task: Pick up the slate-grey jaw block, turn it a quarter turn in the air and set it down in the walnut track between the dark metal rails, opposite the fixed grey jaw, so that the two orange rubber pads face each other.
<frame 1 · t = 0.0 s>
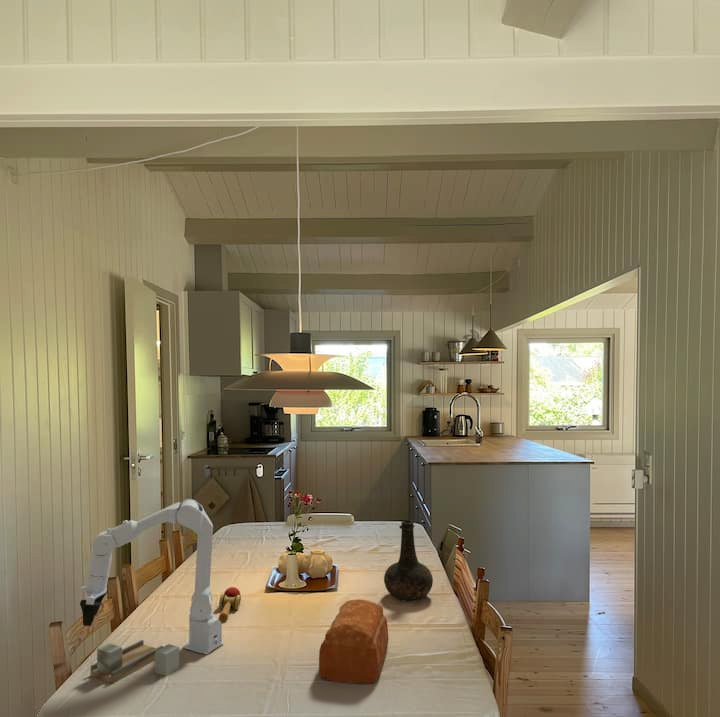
hand: (89, 620, 182), 11 cm above the table, tool pointing down, fingers open, 7 cm apart
kendama: (229, 611, 215), on the table
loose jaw: (167, 670, 173), on the table
bread: (355, 663, 179), on the table
glass bottle: (408, 597, 228), on the table
jaw track: (128, 665, 176), on the table
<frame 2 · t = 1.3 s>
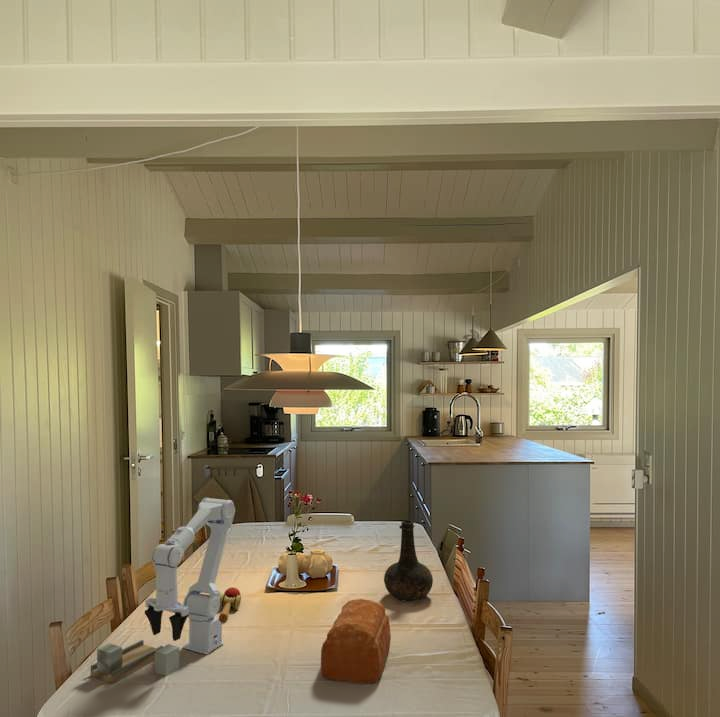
hand: (166, 636, 173), 9 cm above the table, tool pointing down, fingers open, 7 cm apart
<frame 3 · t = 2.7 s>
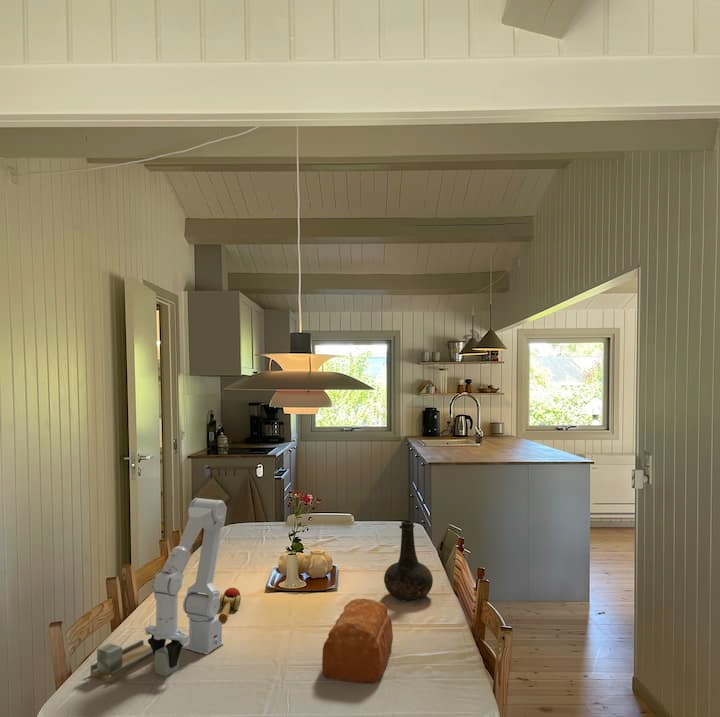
hand: (166, 664, 173), 2 cm above the table, tool pointing down, fingers closed on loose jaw, 4 cm apart
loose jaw: (167, 670, 173), on the table, touching gripper
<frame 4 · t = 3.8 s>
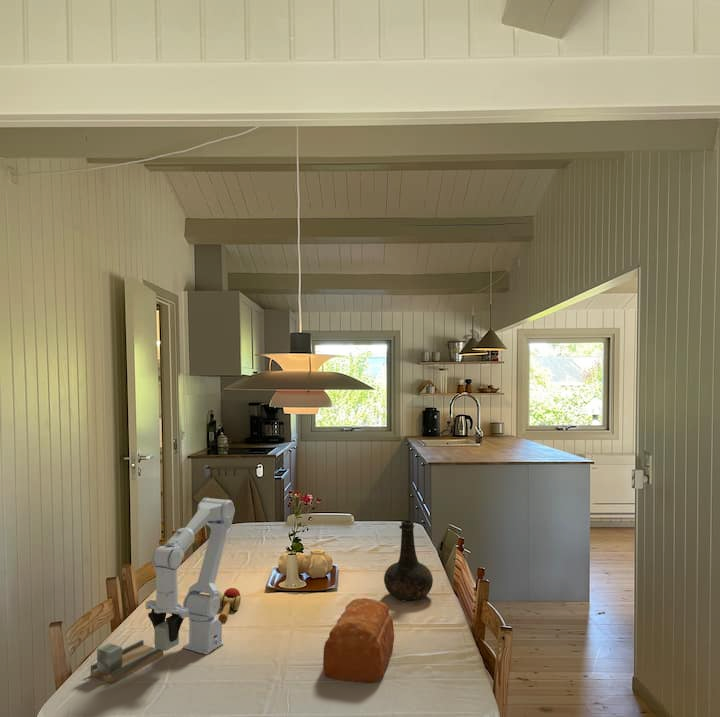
hand: (166, 638, 173), 9 cm above the table, tool pointing down, fingers closed on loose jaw, 4 cm apart
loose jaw: (166, 645, 173), point 7 cm above the table, touching gripper
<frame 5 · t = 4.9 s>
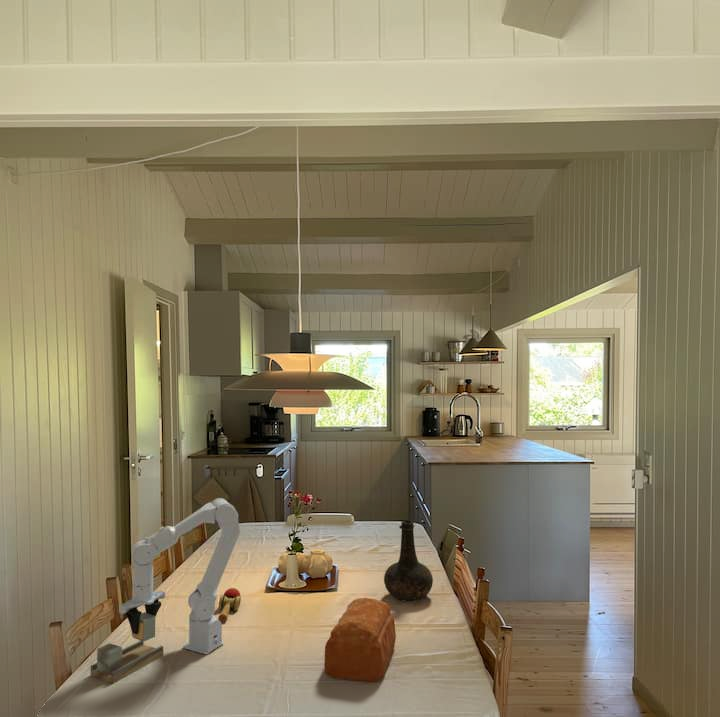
hand: (142, 630, 181), 8 cm above the table, tool pointing down, fingers closed on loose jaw, 4 cm apart
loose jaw: (143, 637, 181), point 6 cm above the table, touching gripper
when the fingers open (4 cm above the table, at t = 6.0 s): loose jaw stays where it is, resting on jaw track.
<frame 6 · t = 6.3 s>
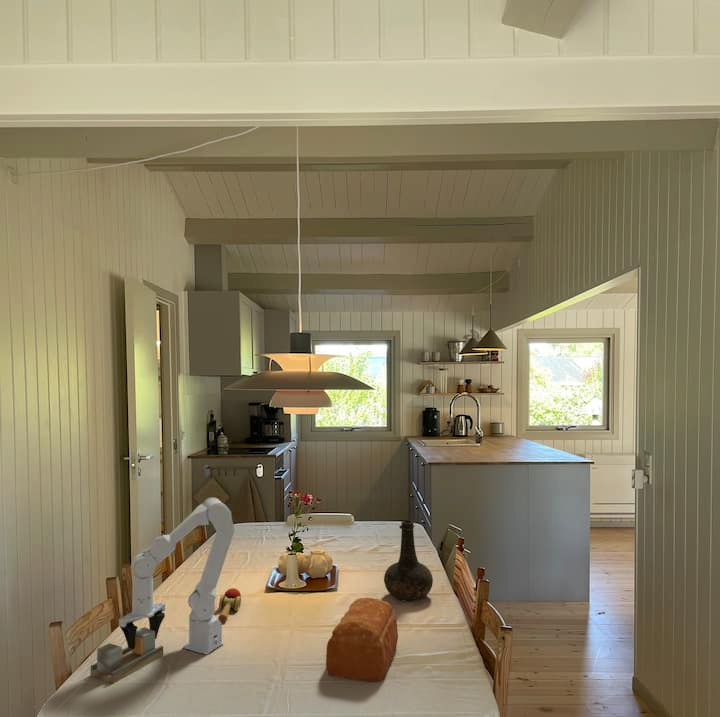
hand: (142, 643, 181), 4 cm above the table, tool pointing down, fingers open, 7 cm apart
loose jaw: (143, 652, 181), point 1 cm above the table, touching jaw track
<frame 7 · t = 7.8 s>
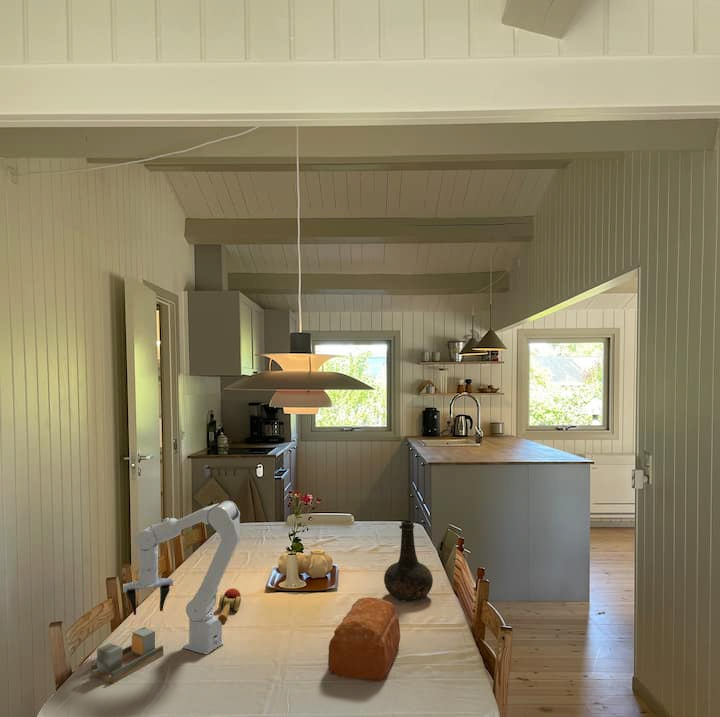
hand: (148, 611, 191), 9 cm above the table, tool pointing down, fingers open, 7 cm apart
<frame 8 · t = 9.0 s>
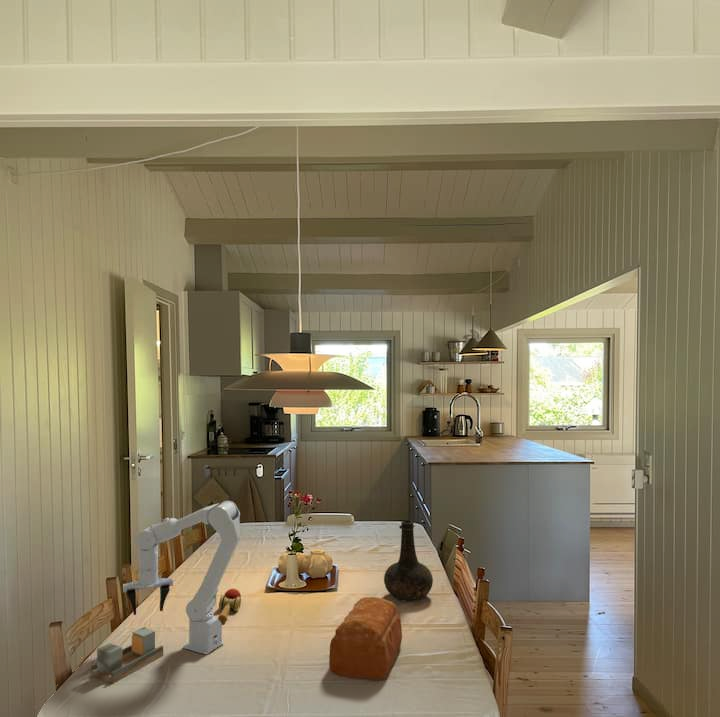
hand: (148, 611, 191), 9 cm above the table, tool pointing down, fingers open, 7 cm apart
at the end: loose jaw 0.3 cm from the target spot on the jaw track, point 1.5 cm above the jaw track's base; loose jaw tilted 0°; the gripper is holding nothing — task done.
